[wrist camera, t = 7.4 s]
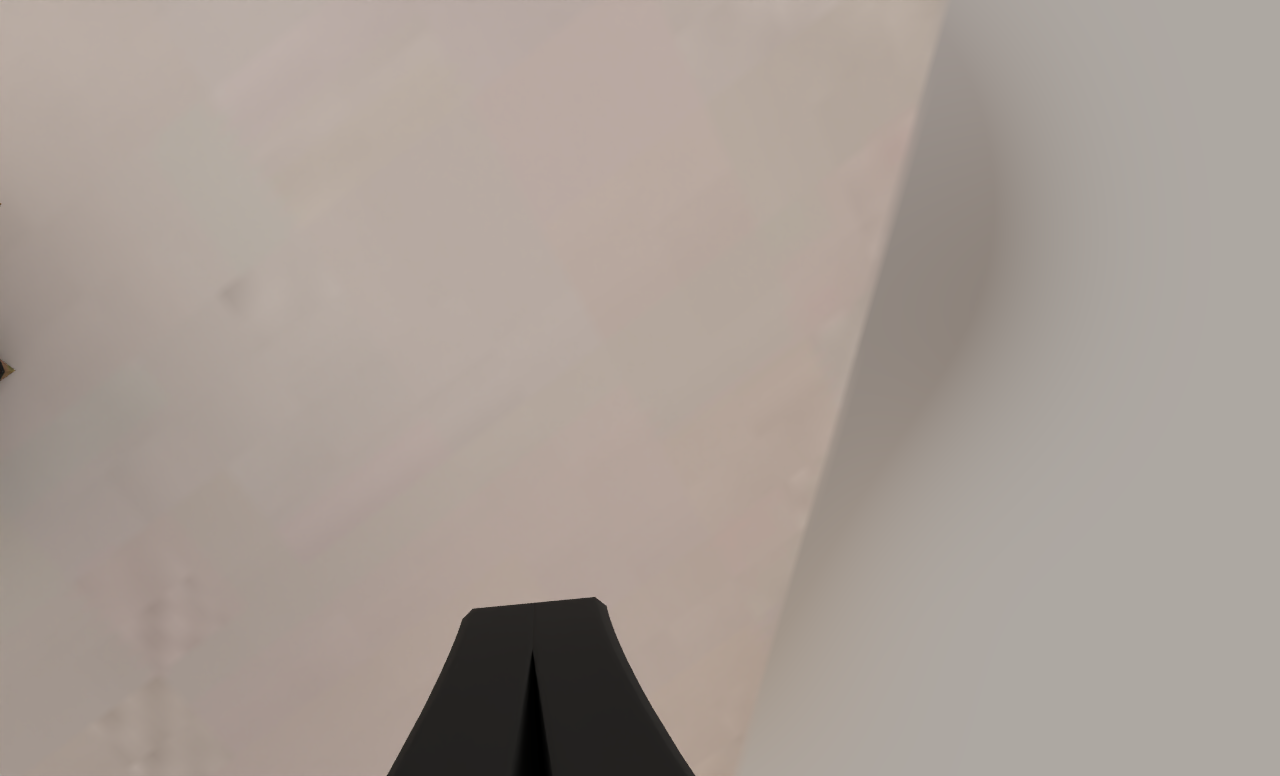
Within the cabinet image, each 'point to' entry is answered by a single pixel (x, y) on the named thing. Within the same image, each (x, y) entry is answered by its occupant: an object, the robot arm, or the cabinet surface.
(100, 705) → the cabinet surface
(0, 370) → the game die
